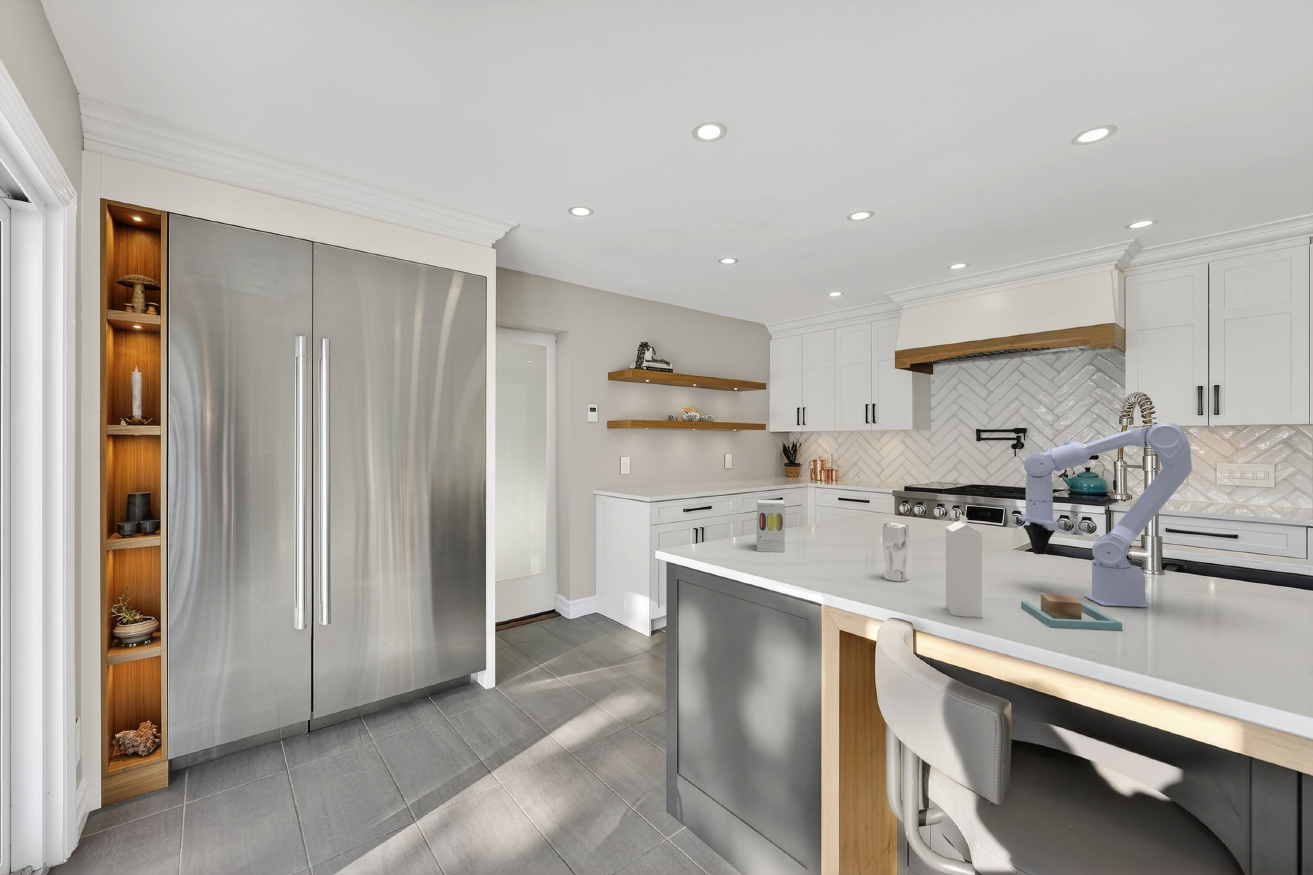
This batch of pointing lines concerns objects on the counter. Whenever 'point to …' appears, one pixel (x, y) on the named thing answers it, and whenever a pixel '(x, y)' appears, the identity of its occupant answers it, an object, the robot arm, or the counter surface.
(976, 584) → the milk
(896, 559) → the beer glass
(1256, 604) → the counter surface
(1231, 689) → the counter surface
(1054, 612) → the walnut block
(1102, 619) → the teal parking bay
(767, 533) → the supplement box
